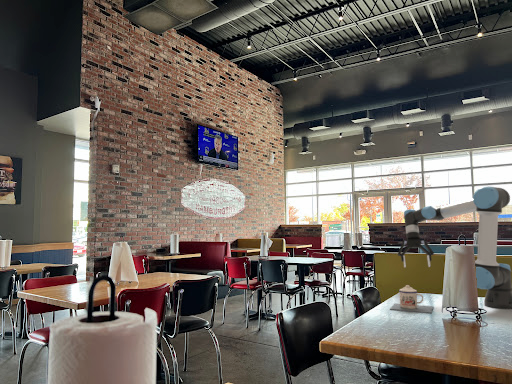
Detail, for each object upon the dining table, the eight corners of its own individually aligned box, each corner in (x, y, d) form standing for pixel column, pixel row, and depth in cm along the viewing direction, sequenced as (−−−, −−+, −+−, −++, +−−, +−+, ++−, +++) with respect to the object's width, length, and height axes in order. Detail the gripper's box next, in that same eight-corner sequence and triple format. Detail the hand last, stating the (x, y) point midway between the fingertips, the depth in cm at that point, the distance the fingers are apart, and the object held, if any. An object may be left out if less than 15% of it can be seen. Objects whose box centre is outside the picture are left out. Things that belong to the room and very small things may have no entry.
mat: (433, 307, 208) (433, 306, 208) (431, 313, 194) (431, 312, 194) (394, 304, 218) (394, 303, 218) (389, 309, 204) (389, 308, 204)
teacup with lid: (399, 308, 204) (398, 286, 205) (399, 305, 212) (399, 283, 213) (424, 310, 200) (422, 287, 201) (423, 306, 208) (422, 284, 209)
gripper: (433, 235, 239) (439, 268, 229) (391, 236, 245) (394, 268, 235) (435, 230, 233) (440, 264, 222) (391, 231, 239) (395, 264, 229)
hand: (417, 266), depth 229 cm, fingers open, 13 cm apart
